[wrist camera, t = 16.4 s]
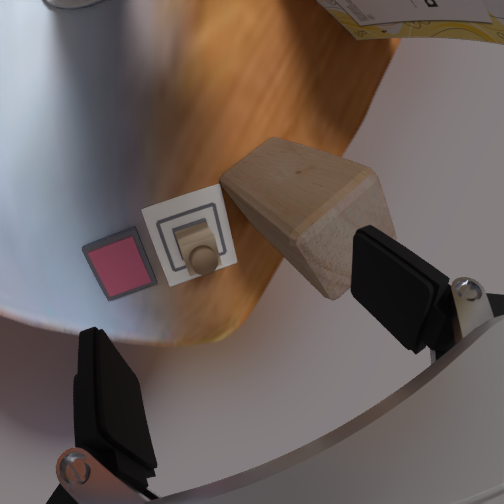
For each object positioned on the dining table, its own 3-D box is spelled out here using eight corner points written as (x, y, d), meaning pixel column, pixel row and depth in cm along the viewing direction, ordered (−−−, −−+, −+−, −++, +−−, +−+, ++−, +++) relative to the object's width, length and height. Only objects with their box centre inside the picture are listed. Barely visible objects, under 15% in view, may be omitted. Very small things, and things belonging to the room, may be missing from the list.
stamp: (171, 228, 40) (180, 254, 34) (204, 217, 41) (219, 240, 35) (181, 257, 42) (192, 285, 37) (212, 246, 44) (228, 272, 38)
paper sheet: (140, 209, 37) (141, 210, 37) (219, 183, 40) (220, 183, 39) (169, 286, 44) (170, 287, 44) (237, 261, 47) (237, 262, 46)
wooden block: (272, 133, 39) (379, 166, 23) (303, 186, 45) (402, 243, 29) (214, 177, 39) (290, 242, 23) (253, 227, 45) (333, 307, 29)
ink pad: (82, 246, 36) (81, 250, 35) (135, 226, 38) (135, 230, 37) (108, 296, 41) (108, 301, 40) (156, 279, 43) (157, 284, 42)
